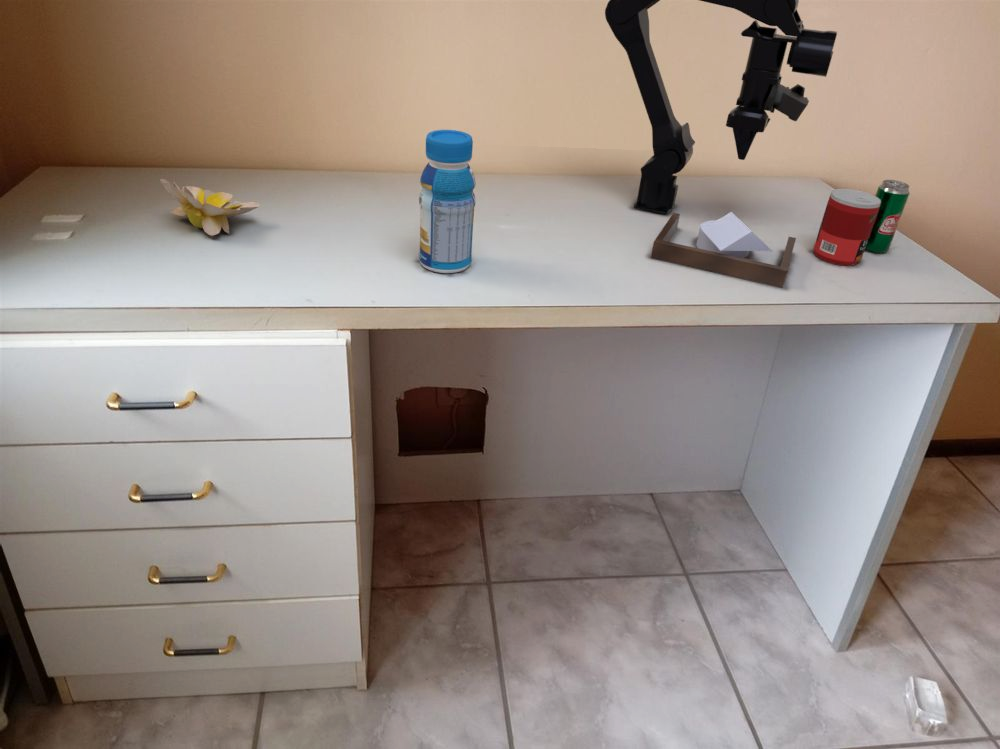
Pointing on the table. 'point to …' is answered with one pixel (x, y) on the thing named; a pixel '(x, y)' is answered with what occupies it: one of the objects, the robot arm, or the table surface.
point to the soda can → (887, 214)
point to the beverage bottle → (447, 202)
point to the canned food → (846, 226)
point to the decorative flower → (206, 207)
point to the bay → (719, 258)
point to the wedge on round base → (729, 237)
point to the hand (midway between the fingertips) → (741, 159)
